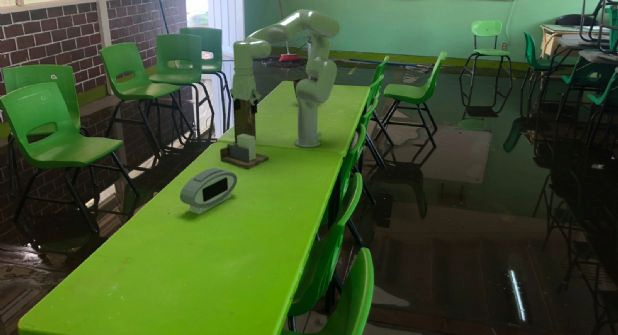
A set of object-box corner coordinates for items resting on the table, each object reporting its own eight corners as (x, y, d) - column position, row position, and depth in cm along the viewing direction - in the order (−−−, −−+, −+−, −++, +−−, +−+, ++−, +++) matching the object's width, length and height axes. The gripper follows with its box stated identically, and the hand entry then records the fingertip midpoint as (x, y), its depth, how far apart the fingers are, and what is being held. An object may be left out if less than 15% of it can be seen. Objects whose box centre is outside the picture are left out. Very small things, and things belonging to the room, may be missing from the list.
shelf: (242, 152, 223) (241, 136, 220) (268, 159, 214) (268, 144, 212) (220, 160, 213) (219, 144, 210) (247, 169, 204) (246, 152, 201)
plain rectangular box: (244, 154, 216) (243, 133, 212) (255, 158, 212) (254, 136, 208) (237, 157, 213) (236, 135, 209) (249, 160, 209) (248, 139, 205)
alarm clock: (194, 218, 163) (191, 184, 158) (181, 214, 166) (178, 180, 161) (238, 194, 181) (236, 163, 176) (226, 190, 184) (224, 159, 179)
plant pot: (316, 109, 293) (317, 84, 287) (292, 109, 293) (292, 83, 287) (316, 103, 307) (317, 78, 301) (293, 103, 307) (293, 78, 301)
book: (246, 137, 242) (244, 89, 233) (256, 138, 241) (255, 89, 232) (235, 148, 227) (232, 97, 218) (246, 149, 226) (244, 97, 217)
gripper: (222, 70, 200) (225, 110, 207) (253, 75, 191) (254, 117, 197) (235, 67, 206) (237, 106, 212) (265, 72, 196) (266, 113, 203)
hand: (245, 111), depth 205 cm, fingers open, 9 cm apart
